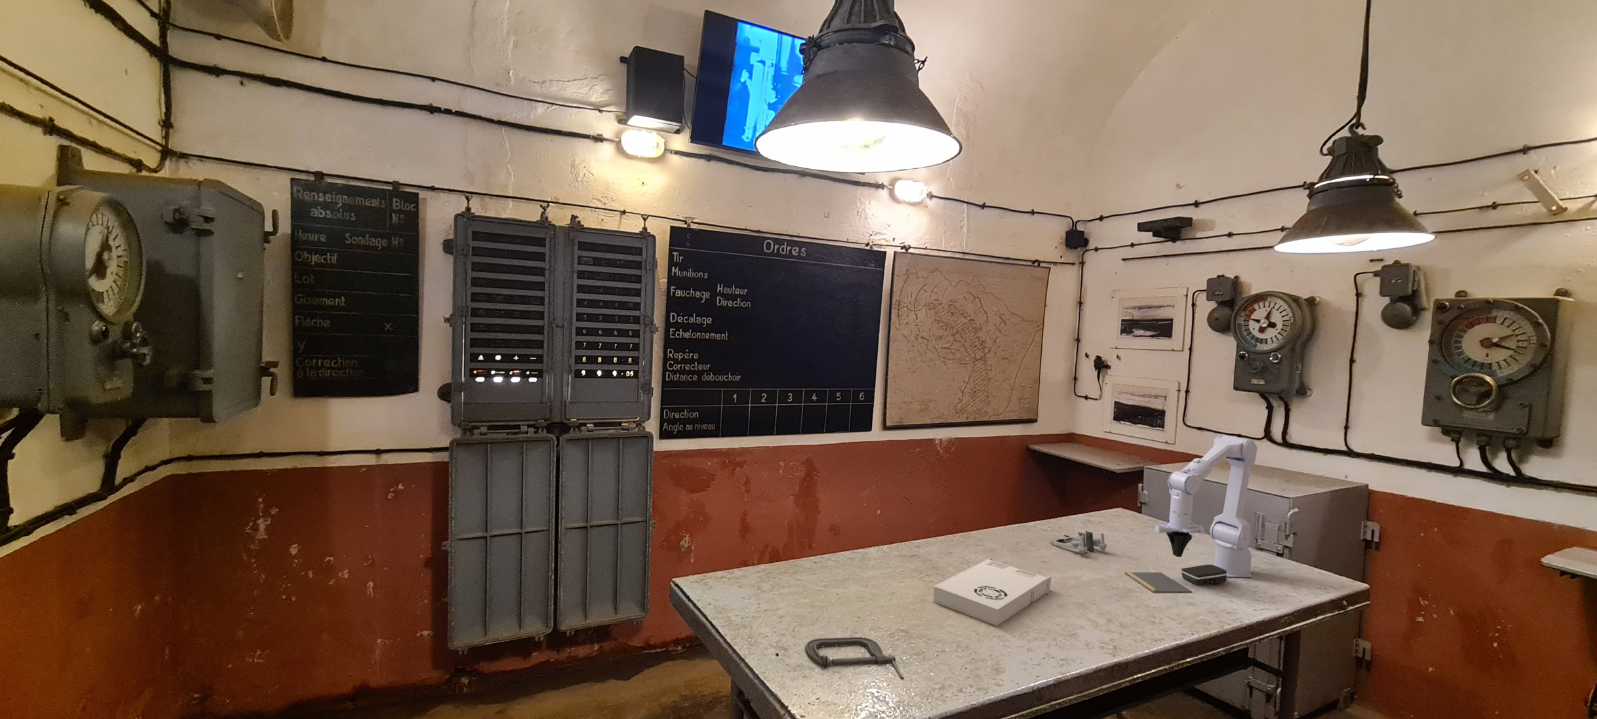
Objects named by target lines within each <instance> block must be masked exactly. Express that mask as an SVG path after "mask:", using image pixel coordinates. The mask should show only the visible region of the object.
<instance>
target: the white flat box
mask: <svg viewBox="0 0 1597 719" xmlns="http://www.w3.org/2000/svg"><path fill="white" fill-rule="evenodd" d="M1051 585H1052V575H1049V576H1047V577H1046V576H1042V575H1040V574H1036V573H1035V572H1034V573H1033V572H1030V571H1027V570H1024V569H1020V568H1017V567H1014V566H1011V565H1008V564H1004V563H1001V562H998V561H995V560H993V558H992V557H989V558H987V559H985V560H983V561H981V562H979V563H977V564H975V565H973V566H971V567H969V568H967V569H965V570H963V571H961V572H959V573H958V574H955V575H952V577H949V578H947V579H945V580H943V581H941V582H939V583H937V584H935V585H933V599H932V600H933V601H934V603H935V602H936V604H939V605H940V606H943V607H946V608H949V609H951V608H952V610H954V611H956V610H957V612H959V613H961V612H962V614H964V615H967V616H969V617H972V618H974V619H977V620H980V621H983V622H984V623H988V624H990V625H992V626H996V627H998V626H999V625H1001V624H1002V623H1003V622H1006V620H1008V619H1009V618H1011V617H1013V616H1014V615H1016V614H1017V613H1019V612H1020V611H1022V610H1023V609H1024V608H1027V607H1028V606H1029V605H1030V604H1032V603H1033V602H1035V601H1037V600H1038V599H1039V598H1042V597H1043V596H1044V595H1045V593H1046V594H1047V593H1048V592H1050V591H1051ZM979 587H980V588H979ZM987 587H988V588H987ZM989 587H990V588H989ZM1042 595H1043V596H1042ZM933 601H932V602H933Z"/></svg>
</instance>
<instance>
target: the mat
mask: <svg viewBox="0 0 1597 719" xmlns="http://www.w3.org/2000/svg"><path fill="white" fill-rule="evenodd" d="M1124 574H1125V575H1127V576H1128V577H1129V578H1131V579H1132V580H1133V581H1135V582H1136V583H1138V584H1140V585H1141V586H1143V587H1144V588H1146V589H1147V590H1149V591H1151V592H1152V593H1153V594H1155V593H1158V594H1159V593H1160V594H1161V593H1163V594H1164V593H1165V594H1166V593H1170V594H1171V593H1176V594H1177V593H1179V594H1180V593H1187V594H1189V593H1193V591H1192V590H1190V589H1189V588H1187V587H1186V586H1184V585H1182V584H1180V583H1179V582H1177V581H1176V580H1174V579H1172V578H1171V577H1170V576H1168V575H1166V574H1164V573H1163V572H1162V571H1161V572H1159V571H1157V572H1155V571H1152V572H1151V571H1150V572H1149V571H1148V572H1144V571H1143V572H1141V571H1139V572H1138V571H1137V572H1136V571H1134V572H1131V571H1130V570H1124Z"/></svg>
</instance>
